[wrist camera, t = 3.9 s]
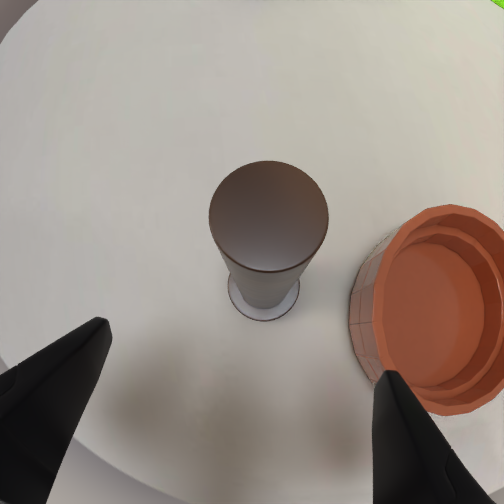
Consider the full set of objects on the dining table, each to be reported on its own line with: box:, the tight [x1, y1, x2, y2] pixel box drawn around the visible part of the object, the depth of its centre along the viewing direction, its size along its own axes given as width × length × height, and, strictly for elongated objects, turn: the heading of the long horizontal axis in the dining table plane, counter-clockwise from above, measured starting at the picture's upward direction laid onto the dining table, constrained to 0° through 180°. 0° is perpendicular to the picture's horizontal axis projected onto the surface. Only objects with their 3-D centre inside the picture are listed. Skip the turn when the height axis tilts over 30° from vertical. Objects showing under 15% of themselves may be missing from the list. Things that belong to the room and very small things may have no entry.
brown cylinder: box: [209, 161, 329, 321], centre depth 14 cm, size 4×4×13 cm
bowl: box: [349, 204, 504, 416], centre depth 17 cm, size 12×12×5 cm
